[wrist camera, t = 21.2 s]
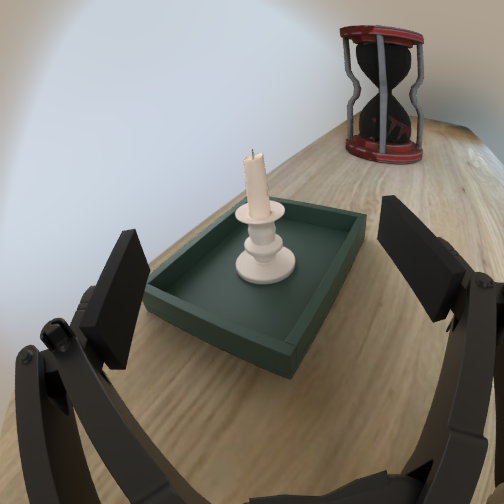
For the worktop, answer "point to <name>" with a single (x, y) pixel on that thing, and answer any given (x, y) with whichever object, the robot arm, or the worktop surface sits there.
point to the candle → (261, 230)
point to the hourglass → (384, 93)
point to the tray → (259, 285)
